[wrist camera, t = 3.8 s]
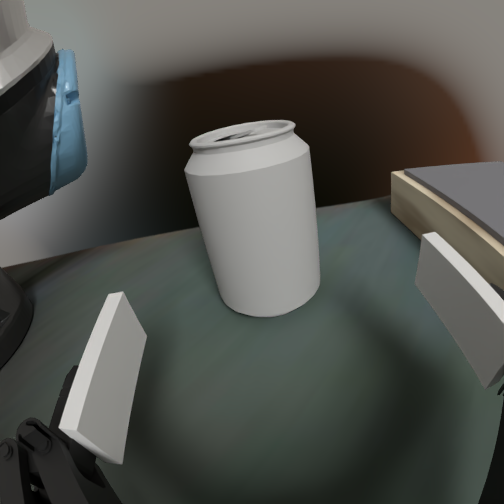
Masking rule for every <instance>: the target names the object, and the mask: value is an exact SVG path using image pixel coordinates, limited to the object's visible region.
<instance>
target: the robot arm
mask: <svg viewBox="0 0 504 504" xmlns="http://www.w3.org/2000/svg"><path fill="white" fill-rule="evenodd" d="M87 162H88V156H87V147H86V141H85V134H84V128H83V121H82V114H81V108H80V101H79V92H78V81H77V71H76V62H75V54H74V51H72V50H63V49H62V50H59V51H58V52H57V53H55V49H54V44H53V41H52V36H51V35H50V34H49V33H47V32H44V31H41V30H38V29H35V28H32V27H30V25H29V24H28V21H27V16H26V11H25V6H24V0H0V220H1V219H3V218H5V217H7V216H8V215H10V214H12V213H14V212H16V211H18V210H20V209H22V208H24V207H26V206H28V205H30V204H32V203H33V202H36V201H38V200H40V199H42V198H44V197H46V196H50V195H52V194H54V192H55V191H56V190H58V189H60V188H61V187H63V186H65V185H67V184H69V183H71V182H73V181H75V180H76V179H78V178H79V177H80V176H81V174H82V173H83V172H84V171H85V169H86V166H87ZM415 285H416V286H417V288H418V289H419V290H420V292H421V293H422V294H423V296H424V297H425V299H426V300H427V301H428V303H429V304H430V305H431V307H432V308H433V309H434V311H435V312H436V314H437V315H438V317H439V318H440V319H441V321H442V322H443V324H444V325H445V327H446V328H447V330H448V331H449V332H450V334H451V335H452V337H453V338H454V340H455V341H456V343H457V344H458V346H459V348H460V349H461V351H462V352H463V354H464V355H465V357H466V359H467V360H468V362H469V363H470V365H471V367H472V368H473V370H474V372H475V373H476V375H477V377H478V378H479V380H480V382H481V383H482V385H483V387H484V389H485V390H486V389H487V388H489V387H491V386H492V385H494V384H496V383H497V382H499V381H500V379H501V378H502V376H503V375H504V291H503V290H502V289H501V288H500V287H498V286H496V285H495V284H493V283H490V284H488V283H487V282H486V281H485V280H484V279H483V278H482V276H481V275H480V274H479V273H478V272H477V271H476V270H475V269H474V268H473V267H472V266H471V265H470V264H469V263H468V262H467V261H466V260H465V259H464V258H463V257H462V256H461V255H460V254H459V253H458V252H457V251H455V250H454V249H453V248H452V247H451V246H450V245H449V244H448V243H447V242H446V241H445V240H444V239H443V238H442V237H440V236H439V235H438V234H437V233H436V232H432V233H427V234H422V239H421V247H420V254H419V261H418V267H417V273H416V279H415ZM32 314H33V307H32V304H31V302H30V300H29V299H28V297H27V295H26V294H25V292H24V290H23V289H22V288H21V286H20V285H19V284H18V283H17V282H16V281H15V280H13V279H12V278H11V277H10V276H9V275H8V274H7V273H6V272H5V271H4V270H3V269H2V268H1V267H0V368H1V367H2V366H3V365H4V364H5V363H6V361H7V360H8V359H9V358H10V357H11V355H12V354H13V353H14V351H15V350H16V349H17V347H18V346H19V344H20V343H21V341H22V339H23V338H24V336H25V334H26V332H27V330H28V328H29V325H30V322H31V319H32ZM146 338H147V335H146V333H145V332H144V330H143V328H142V326H141V325H140V323H139V321H138V319H137V317H136V315H135V313H134V312H133V310H132V308H131V306H130V304H129V302H128V300H127V298H126V296H125V294H124V292H119V293H113V294H109V295H108V297H107V299H106V301H105V303H104V306H103V308H102V310H101V312H100V315H99V317H98V319H97V322H96V324H95V327H94V329H93V331H92V334H91V336H90V339H89V341H88V344H87V346H86V349H85V351H84V354H83V357H82V359H81V362H80V365H79V366H73V368H72V369H71V370H70V372H69V373H68V374H67V376H66V378H65V381H64V384H63V386H62V387H63V389H61V392H60V395H59V396H60V398H58V401H57V404H56V407H55V410H54V413H53V416H52V419H51V422H50V426H49V428H47V427H46V426H45V425H44V424H43V423H42V422H40V421H39V420H38V419H36V418H28V419H26V420H24V421H23V422H22V423H21V424H20V426H19V427H18V429H17V433H16V441H15V440H13V439H11V438H6V439H5V440H3V441H2V442H1V443H0V500H1V504H122V503H121V501H120V500H119V498H118V497H117V495H116V494H115V492H114V490H113V489H112V487H111V486H110V484H109V482H108V481H107V479H106V478H105V476H104V474H103V472H102V471H101V469H100V467H99V466H98V465H97V464H96V463H95V461H96V457H98V458H99V459H101V460H102V461H104V462H105V463H113V464H122V463H123V456H124V449H125V443H126V437H127V431H128V425H129V419H130V413H131V408H132V403H133V398H134V392H135V387H136V383H137V378H138V373H139V369H140V364H141V360H142V355H143V351H144V346H145V342H146ZM503 390H504V384H503V385H502V386H501V388H500V389H499V391H498V394H497V395H500V394H501V392H502V391H503ZM503 396H504V394H503ZM30 483H31V484H32V485H34V488H35V489H34V491H32V490H31V485H30ZM478 504H504V400H503V407H502V414H501V420H500V426H499V431H498V436H497V441H496V445H495V450H494V454H493V458H492V462H491V465H490V469H489V472H488V476H487V479H486V482H485V485H484V488H483V491H482V494H481V497H480V500H479V503H478Z"/></svg>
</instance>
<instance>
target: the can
mask: <svg viewBox="0 0 504 504" xmlns="http://www.w3.org/2000/svg"><path fill="white" fill-rule="evenodd" d="M294 127H295V124H294V123H293V122H291V121H284V120H270V121H259V122H251V123H244V124H239V125H234V126H230V127H226V128H221V129H218V130H214V131H211V132H208V133H205V134H203V135H200V136H198V137H196V138H194V139H192V141H191V142H190V144H189V146H191V147H193V151H194V152H193V154H192V156H191V158H190V160H189V162H188V164H187V166H186V168H185V174H186V178H187V182H188V185H189V189H190V193H191V196H192V200H193V204H194V207H195V211H196V215H197V218H198V222H199V225H200V229H201V232H202V236H203V239H204V243H205V246H206V250H207V253H208V256H209V260H210V263H211V266H212V270H213V273H214V276H215V280H216V283H217V286H218V290H219V293H220V296H221V297H222V299H223V301H224V302H225V304H226V305H227V306H229V307H230V308H232V309H233V310H235V311H236V312H239V313H243V314H246V315H250V316H256V317H275V316H279V315H284V314H286V313H288V312H291V311H293V310H295V309H297V308H298V307H300V306H302V305H303V304H304V303H306V302H307V301H308V300H309V299H310V298H311V297H313V296H314V294H315V293H316V291H317V289H318V287H319V285H320V261H319V246H318V232H317V220H316V208H315V198H314V188H313V178H312V169H311V160H310V152H309V146H308V145H307V144H306V143H305V142H304V141H302V140H301V139H300V138H299V137H298V136H297V135H295V134H294V132H293V129H294Z"/></svg>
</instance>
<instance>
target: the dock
mask: <svg viewBox="0 0 504 504" xmlns="http://www.w3.org/2000/svg"><path fill="white" fill-rule="evenodd" d="M391 213H393V214H394V215H395V216H396V217H397V218H398V219H399V220H400V221H401V222H402V223H403V224H404V225H406V226H407V227H408V228H409V229H410V230H411V231H412V232H413V233H414V234H415V235H416V236H417V237H418V238H419V239H420V240H421V239H422V234H427V233H432V232H436V233H437V234H438V235H439V236H440V237H442V238H443V239H444V240H445V241H446V242H447V243H448V244H449V245H450V246H451V247H452V248H453V249H454V250H455V251H457V252H458V253H459V254H460V255H461V256H462V257H463V258H464V259H465V260H466V261H467V262H468V263H469V264H470V265H471V266H472V267H473V268H474V269H475V270H476V271H477V272H478V273H479V274H480V275H481V276H482V278H483V279H484V280H485V281H486V282H487V283H488V284H490V283H493V284H495V285H496V286H498V287H500V288H501V289H502V290H503V291H504V163H503V162H485V163H484V162H483V163H467V164H454V165H443V166H432V167H422V168H412V169H404V171H396V172H392V173H391Z"/></svg>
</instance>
